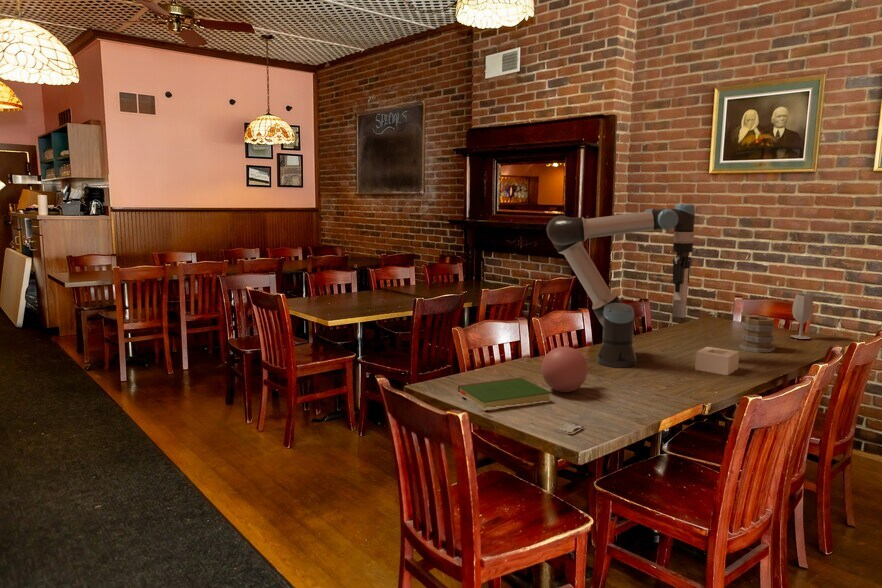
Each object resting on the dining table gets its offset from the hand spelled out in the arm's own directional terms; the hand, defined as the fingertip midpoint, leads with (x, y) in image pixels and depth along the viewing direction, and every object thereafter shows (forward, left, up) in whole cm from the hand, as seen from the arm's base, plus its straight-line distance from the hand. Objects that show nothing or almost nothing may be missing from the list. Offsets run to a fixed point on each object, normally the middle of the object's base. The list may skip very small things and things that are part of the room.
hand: (679, 299), depth 255 cm
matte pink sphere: (-71, +9, -25) cm, 76 cm away
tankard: (+40, -18, -25) cm, 50 cm away
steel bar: (0, 0, -7) cm, 7 cm away
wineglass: (+75, -29, -25) cm, 84 cm away
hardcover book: (-94, +20, -25) cm, 99 cm away
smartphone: (-104, -6, -25) cm, 107 cm away
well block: (-9, -19, -24) cm, 32 cm away
